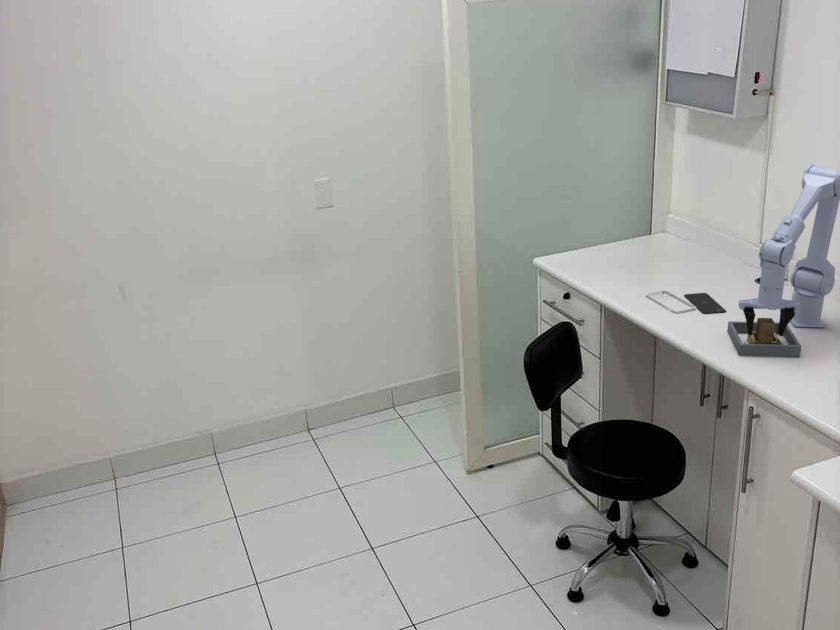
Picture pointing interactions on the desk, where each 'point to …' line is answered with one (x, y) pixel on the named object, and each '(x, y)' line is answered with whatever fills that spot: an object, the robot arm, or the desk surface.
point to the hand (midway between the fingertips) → (764, 334)
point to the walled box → (763, 349)
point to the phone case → (675, 298)
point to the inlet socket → (752, 340)
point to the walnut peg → (764, 329)
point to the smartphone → (705, 303)
